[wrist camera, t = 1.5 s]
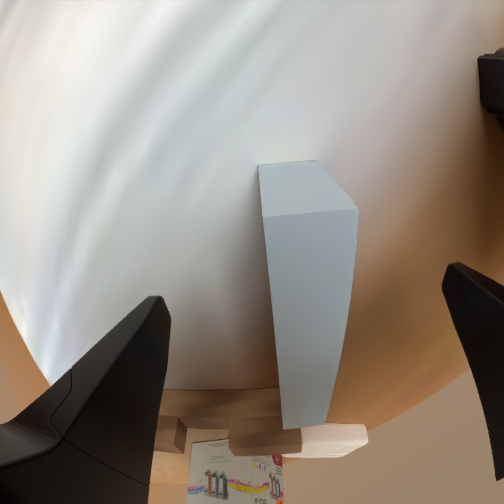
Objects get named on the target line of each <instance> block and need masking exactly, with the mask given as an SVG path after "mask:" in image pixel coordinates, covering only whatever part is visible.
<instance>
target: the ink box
mask: <svg viewBox="0 0 504 504" xmlns="http://www.w3.org/2000/svg"><path fill="white" fill-rule="evenodd" d="M228 444H229V439H225V440H218V441H209V442H201V443H192V451H191V461H190V472H189V483H188V496H187V504H284V496H283V473H282V455H281V454H280V455H265V456H234V455H233V454H232V452H231V451H230V449H229V448H228Z"/></svg>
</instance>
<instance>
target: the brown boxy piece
mask: <svg viewBox="0 0 504 504" xmlns="http://www.w3.org/2000/svg"><path fill="white" fill-rule="evenodd" d="M187 428H198V429H229V444H228V448H229V449H230V451H231V452H232V454H233V455H234V456H265V455H280V454H291V453H301V451H302V435H301V428H295V429H285V430H283V421H282V409H281V397H280V387H276V388H263V389H246V390H212V391H200V390H166V389H163V393H162V399H161V405H160V411H159V417H158V423H157V430H156V437H155V444H154V451H162V452H170V453H179V454H184V449H185V441H186V433H187Z"/></svg>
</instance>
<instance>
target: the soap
mask: <svg viewBox="0 0 504 504" xmlns="http://www.w3.org/2000/svg"><path fill="white" fill-rule="evenodd" d="M301 435H302V451H301V453H291V454H281V455H282V456H283V457H291V458H292V457H293V458H333V457H342V456H345V455H347V454H349V453H350V452H352V451H354V450H356V449H357V448H360V447H362V446H364V445H366V444H367V443H368V435H367V430H366V427H365V425H364V424H338V423H325V425H318V426H311V427H304V428H301Z"/></svg>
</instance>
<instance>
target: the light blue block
mask: <svg viewBox="0 0 504 504" xmlns="http://www.w3.org/2000/svg"><path fill="white" fill-rule="evenodd" d="M258 171H259V182H260V194H261V205H262V217H263V226H264V235H265V244H266V253H267V263H268V272H269V282H270V291H271V301H272V311H273V321H274V332H275V342H276V353H277V364H278V375H279V386H280V397H281V409H282V421H283V430H285V429H295V428H304V427H311V426H318V425H325V422H326V418H327V414H328V410H329V407H330V403H331V398H332V394H333V390H334V386H335V381H336V377H337V372H338V368H339V363H340V358H341V353H342V347H343V342H344V336H345V331H346V325H347V318H348V312H349V305H350V298H351V291H352V283H353V274H354V265H355V255H356V244H357V232H358V217H359V208H358V207H357V206H356V204H355V203H354V202H353V201H352V200H351V198H350V197H349V196H348V195H347V194H346V193H345V191H344V190H343V189H342V188H341V187H340V186H339V184H338V183H337V182H336V181H335V180H334V179H333V178H332V176H331V175H330V174H329V173H328V172H327V171H326V170H325V169H324V168H323V166H322V165H321V164H320V163H319V162H318V161H317V160H312V161H297V162H285V163H274V164H264V165H258Z"/></svg>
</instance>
